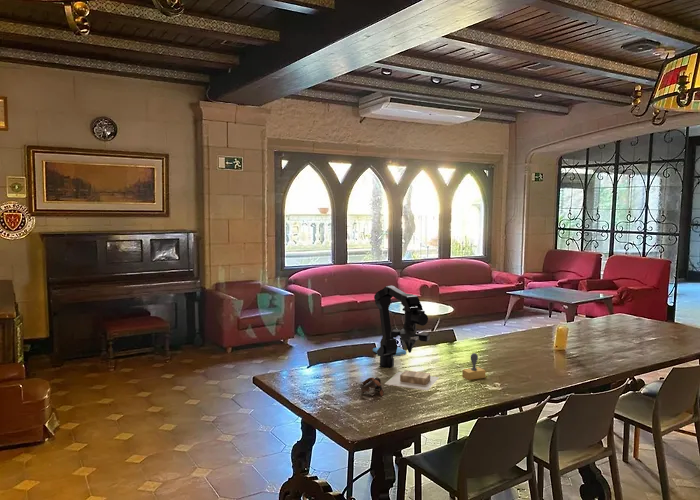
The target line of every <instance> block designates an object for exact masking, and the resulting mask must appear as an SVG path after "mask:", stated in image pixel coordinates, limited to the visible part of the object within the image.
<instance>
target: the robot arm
mask: <svg viewBox="0 0 700 500" xmlns="http://www.w3.org/2000/svg"><path fill="white" fill-rule="evenodd" d="M373 296H374V297H373V298H374V299H373V300H374V303H375V305H376V306H377V308H378V311H379V319H380V325H381V327H380V328H381V334H382V335H381V339H380V342H379V344H380V346H379V347H380V348H379V349H378V350H377V353H376V354H377V356H379V366H378V367H379V368H383V369H384V368H385V369H392V368H393V367H394V366H395V358H394V356H393V355H396V351H397V347H398V340H397V339H396V338H397V337H400V339H401V341H403V342H404V344H405V346H406V349H407V351H408V352H407V353H409V354H410V353H412V350H413V348H414V345H415V344H416V342H417V341H418V340H419V341H420V342H428V341H430V340H431V335H430V333H428V332H421V333H420V334H418V333H417V332H418V331H417V325H419V326H422V327H423V326H425V325H427V323H428V321H429V317H428V315H427V314H426V312H425V310H424V309H423V306H422V304H421V301H420V299H419V296H418V295H416V294H412V293H407V292H404V291H402V290H400V289H399V288H397V287H396V285H395V286H394V285H386V286H384V287H383V288H382V289H380V290H378V291H376V292H375V294H374V295H373ZM392 298H395V299H396V300H397V301H399V302H400V304H401V306H403V307H402V311H403V312H404V323H403V327H402V329H393V330H392V326H391V316H390V315H391V314H390V308H389V307H390V306H391V304H392Z"/></svg>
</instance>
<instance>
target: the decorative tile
mask: <svg viewBox="0 0 700 500" xmlns="http://www.w3.org/2000/svg"><path fill="white" fill-rule="evenodd" d="M379 348H380V346H379V347H373V348H372V352H373V353H376V354H377V350H378V349H379ZM401 354H404V355H407V350H405V349H403V348H401V347H399V346H397V351H396V355H397V356H402V355H401ZM394 356H395V355H393V357H394Z"/></svg>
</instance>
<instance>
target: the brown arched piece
mask: <svg viewBox="0 0 700 500" xmlns="http://www.w3.org/2000/svg"><path fill="white" fill-rule="evenodd" d="M381 383H382V382H381V379H380V377H378V376H377V377H375V378H374V377H372V376H371V377H369V378H367V379H365V380H364V381H362V384H360V389H361V390H360V392H361V393H365V392H368V393H370V389H375V390H379V392H378V393H379V395H380V397H382V396H383V395H384V394H385V393H384V390H383V386H382V384H381Z"/></svg>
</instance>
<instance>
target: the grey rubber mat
mask: <svg viewBox="0 0 700 500" xmlns="http://www.w3.org/2000/svg"><path fill="white" fill-rule="evenodd" d="M403 372H404V371H397V372H396V373H395V374H393V376H392V377H391V378H390V379H388V380H387V381H386V382H385V383H384V385H388V386H389V385H390V386H394V387H395V386H397V387H402V388H409V389H416V390H423V391H429V390H430V389H431V387H432V386H433V385H434V384H435V383H436V382H437V381H438V380H439V378H440V377H439V376H432V375H430V381H429V382H428V383H427V384H426V385H422V384H415V383H408V382H401V381H400V375H401V374H402V373H403Z"/></svg>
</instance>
